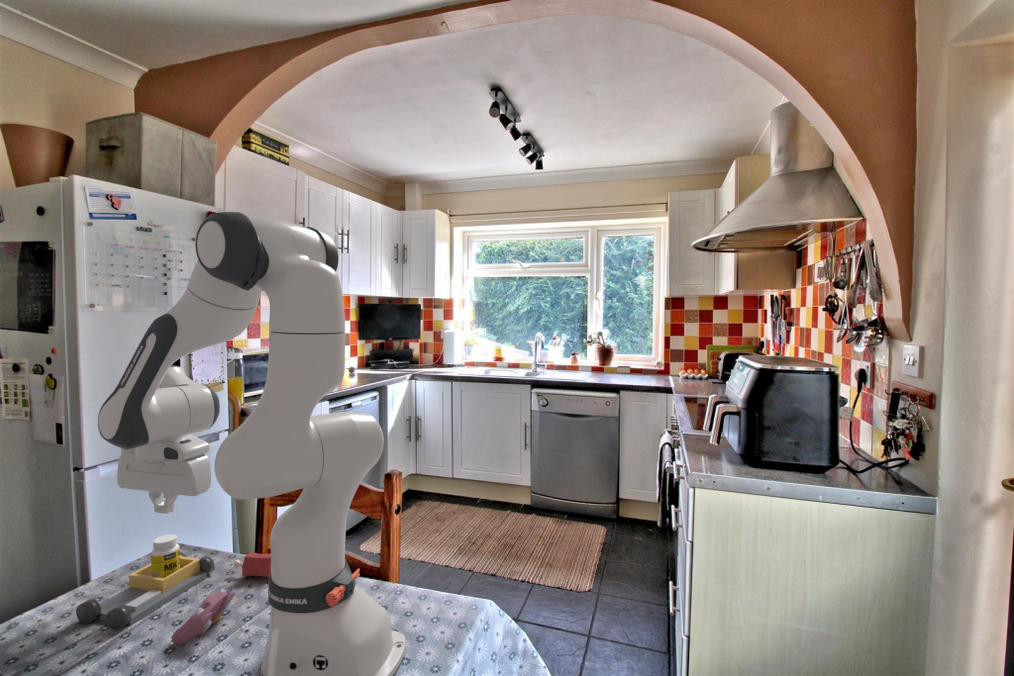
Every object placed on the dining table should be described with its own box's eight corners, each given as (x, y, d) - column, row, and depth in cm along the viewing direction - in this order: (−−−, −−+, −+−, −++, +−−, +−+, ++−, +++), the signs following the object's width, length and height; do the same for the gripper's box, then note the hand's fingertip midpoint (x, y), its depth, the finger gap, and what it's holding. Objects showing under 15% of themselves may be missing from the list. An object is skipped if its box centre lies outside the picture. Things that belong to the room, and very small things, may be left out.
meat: (224, 579, 98) (228, 553, 99) (239, 573, 103) (242, 549, 104) (281, 581, 97) (284, 555, 98) (292, 575, 102) (295, 551, 103)
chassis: (214, 573, 101) (214, 557, 101) (122, 631, 82) (121, 611, 82) (174, 567, 103) (173, 551, 103) (76, 622, 85) (75, 602, 85)
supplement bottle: (165, 586, 94) (164, 545, 94) (145, 583, 95) (144, 542, 95) (186, 573, 99) (184, 534, 98) (167, 571, 100) (165, 532, 99)
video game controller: (190, 656, 79) (208, 620, 78) (166, 643, 79) (184, 607, 78) (228, 618, 89) (243, 586, 88) (206, 607, 89) (222, 575, 88)
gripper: (106, 445, 95) (108, 513, 96) (188, 453, 90) (190, 524, 91) (137, 437, 101) (139, 501, 102) (216, 444, 96) (217, 510, 97)
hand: (164, 512), depth 96 cm, fingers closed
